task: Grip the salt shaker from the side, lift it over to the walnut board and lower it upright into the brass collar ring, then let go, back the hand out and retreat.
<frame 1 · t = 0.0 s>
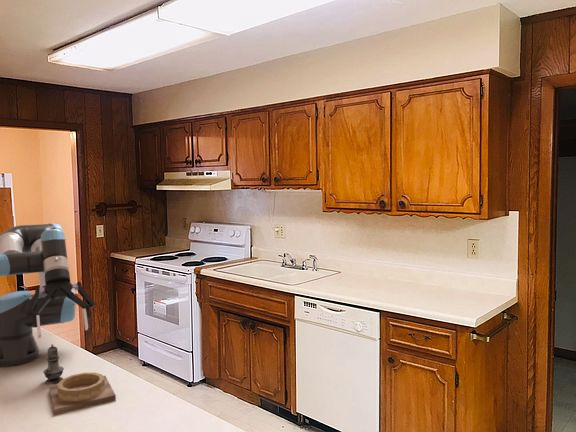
hand: (63, 332, 152), 15 cm above the countertop, tool tilted 35°, fingers open, 13 cm apart
collar stand: (81, 396, 141), on the countertop
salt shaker: (54, 381, 152), on the countertop
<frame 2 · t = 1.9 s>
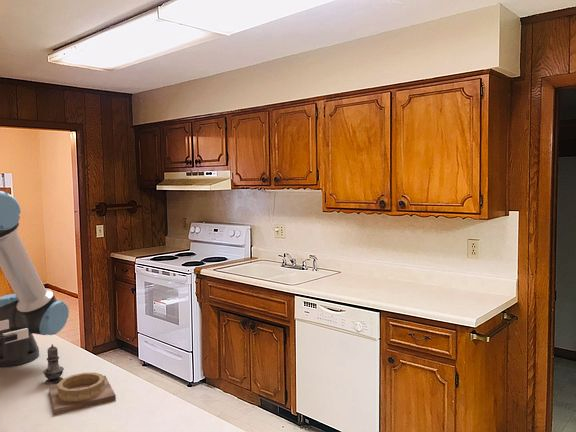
hand: (18, 328, 143), 20 cm above the countertop, tool horizontal, fingers open, 13 cm apart
nothing on the countertop moved.
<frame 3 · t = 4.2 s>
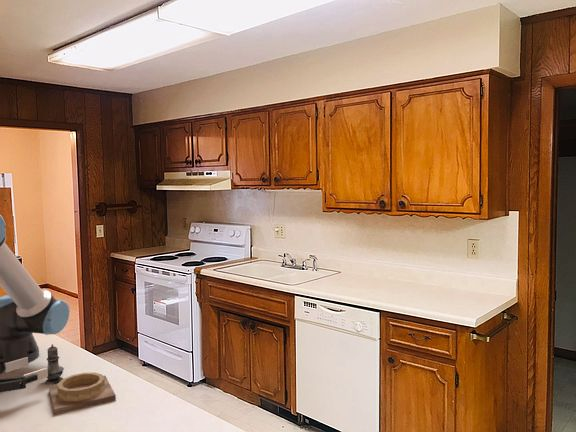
hand: (37, 366, 147), 6 cm above the countertop, tool horizontal, fingers open, 13 cm apart
nothing on the countertop moved.
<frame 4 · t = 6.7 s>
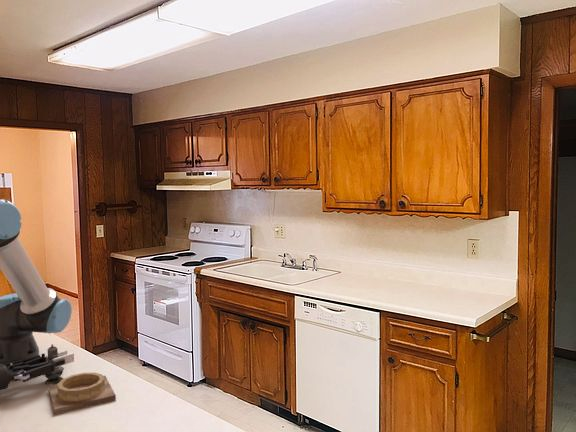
hand: (69, 355, 156), 7 cm above the countertop, tool horizontal, fingers closed on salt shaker, 4 cm apart
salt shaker: (54, 381, 152), on the countertop, touching gripper
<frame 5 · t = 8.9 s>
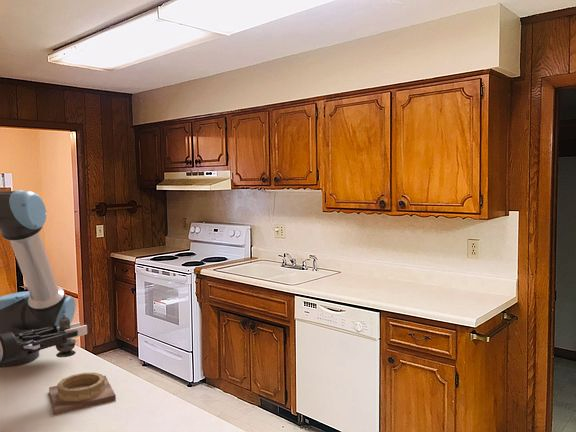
hand: (83, 328, 146), 19 cm above the countertop, tool horizontal, fingers closed on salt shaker, 4 cm apart
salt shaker: (65, 354, 142), point 12 cm above the countertop, touching gripper
when the fingers open (9 cm above the countertop, at t = 11.1 s): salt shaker drops 1 cm, resting on collar stand.
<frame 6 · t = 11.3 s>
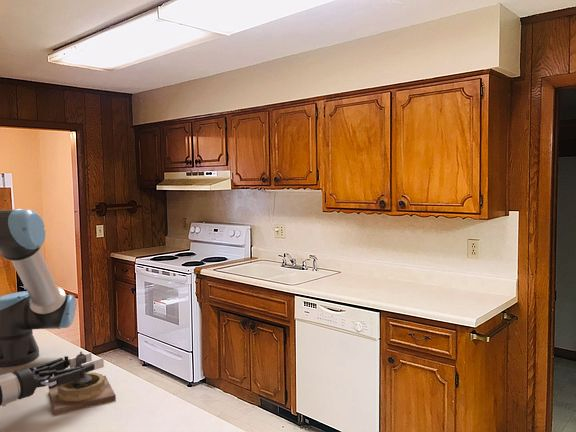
hand: (96, 359, 145), 9 cm above the countertop, tool horizontal, fingers open, 6 cm apart
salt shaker: (81, 391, 141), point 1 cm above the countertop, touching collar stand
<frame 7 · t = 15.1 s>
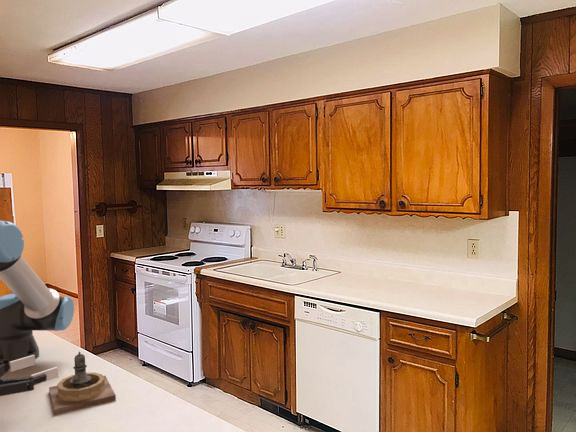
hand: (45, 365, 133), 12 cm above the countertop, tool horizontal, fingers open, 13 cm apart
nothing on the countertop moved.
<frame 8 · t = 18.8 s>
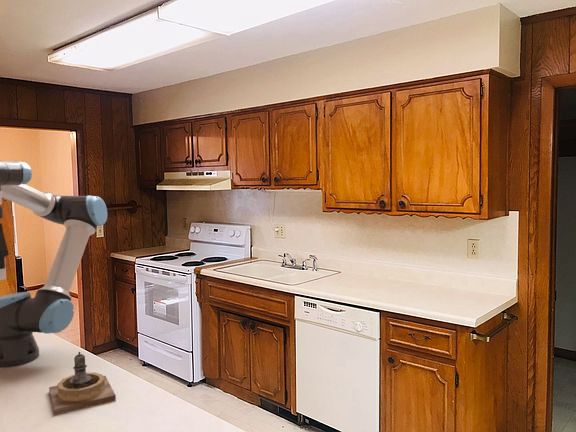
nothing on the countertop moved.
at the end: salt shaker 0.1 cm off-centre on the collar stand, point 1.3 cm above the collar stand's base; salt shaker tilted 0°; the gripper is holding nothing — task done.
